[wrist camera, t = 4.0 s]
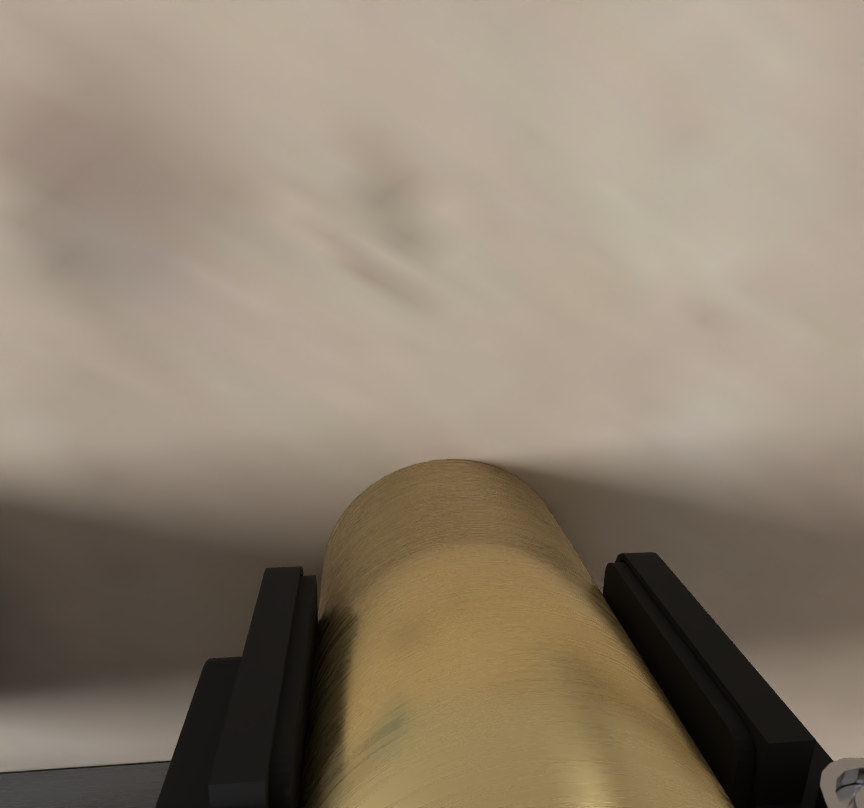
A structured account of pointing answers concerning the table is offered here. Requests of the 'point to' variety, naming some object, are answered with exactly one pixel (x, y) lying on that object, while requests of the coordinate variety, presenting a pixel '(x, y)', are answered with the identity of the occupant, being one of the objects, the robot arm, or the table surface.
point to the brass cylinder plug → (480, 662)
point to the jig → (85, 787)
